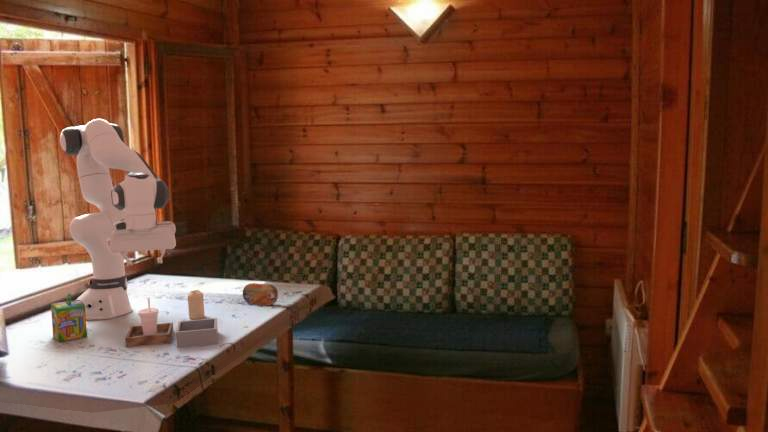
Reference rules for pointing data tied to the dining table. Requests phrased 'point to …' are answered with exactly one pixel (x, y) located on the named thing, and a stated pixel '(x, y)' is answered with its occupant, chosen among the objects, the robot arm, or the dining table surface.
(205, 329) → the bin
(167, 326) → the frame
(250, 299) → the tin
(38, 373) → the dining table surface
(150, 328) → the smoothie
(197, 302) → the candle
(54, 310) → the chalk box
